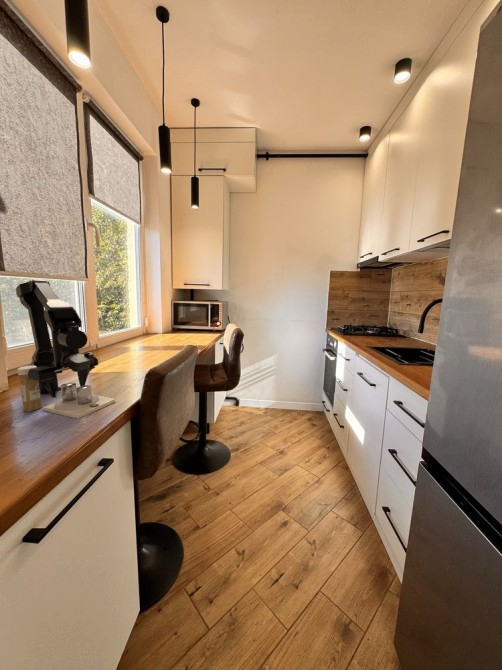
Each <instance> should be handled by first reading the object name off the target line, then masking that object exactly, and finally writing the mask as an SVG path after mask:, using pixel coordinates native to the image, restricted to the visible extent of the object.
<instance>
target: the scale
mask: <svg viewBox="0 0 502 670" xmlns="http://www.w3.org/2000/svg"><path fill="white" fill-rule="evenodd" d="M114 403H116V398H112V397H108V396H107V397H106V396H102V395H97V394H95V393H92V402H91V403H89V404H86V405H78V403H77V399H76V400H73V401H69V402H64V401H62V398H61V399H59V400H58V401H56V402H54V403H52V404H49V405H46V406H43V408H42V409H43V411H46V412H49V413H52V414H57V415H61V416H65V417H69V418H72V419H77V420H78V419H80V418H83V417H84V416H87V415H89V414H92V413H93V412H96V411H98V410H101V409H103V408H104V407H106V406H109V405H111V404H114Z"/></svg>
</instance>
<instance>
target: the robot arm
mask: <svg viewBox="0 0 502 670" xmlns="http://www.w3.org/2000/svg"><path fill="white" fill-rule="evenodd" d="M15 292H16V293H15V294H16V296H17V298H19V301H20V304H21V305H23V307H24V308H25V309H27V312H28V317H29V321H30V326H31V331H32V337H33V340H34V345H35V349H34V353H33V354H32V357H31V360H32V361H31V363H30V365H29V366H37V367H36V368H32V369H30V370H29V372H28V378H29V379H34V380H37V381H38V384H39V391H40V395H48V394H49V395H50V397H52V399H55V398H57V392H58V391H59V390H60V391H61V386H59V382H58V375H57V374H62V373H63V371H67V370H71V371H72V372H74V373H75V372H76V374H77V378H78V383H79V386H83V385H86V383H87V380H88V377H89V374H90V372H91V371H92V370H94V369H95V368H96V366H99V359H98V358H97V357H96V356H94V352H91V351H90V352H85V353H80V350H81V349H82V348H84V347H85V346H86V344H88V336H87V335H86V333H85V332H84V331H83V330H80V328H82V320H81V318H80V316H79V314H78V312H77V310H76V309H74V307H73V306H72V305H71V304H70V303H68V302H67V301H63V300H62V299H61V298H60V297H59V296H58V295H57V293H56V292H55V291H54V289H53V288H52V286H51V283H50V281H49V280H45V279H29V280H28V281H27V282H23V283H22V282H21V283H20V284H18V285H17V286H16V287H15ZM49 328H50V330H49ZM49 331H50V332H49ZM50 333H51V336H50Z"/></svg>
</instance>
